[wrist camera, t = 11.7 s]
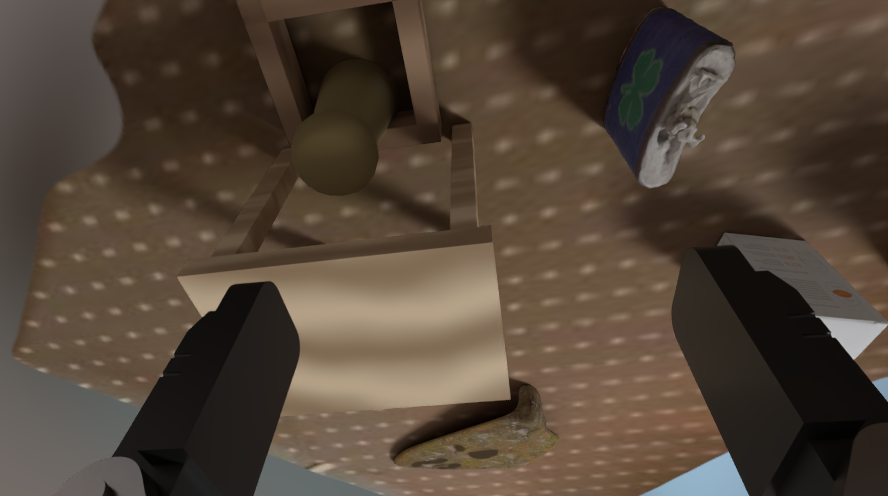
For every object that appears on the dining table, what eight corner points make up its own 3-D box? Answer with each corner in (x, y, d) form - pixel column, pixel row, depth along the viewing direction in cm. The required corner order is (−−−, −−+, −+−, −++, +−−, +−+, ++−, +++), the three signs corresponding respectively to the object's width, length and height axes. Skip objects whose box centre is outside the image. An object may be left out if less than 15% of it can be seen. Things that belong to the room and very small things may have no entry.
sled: (192, -178, 27) (95, -201, 20) (385, -221, 26) (356, -262, 18) (305, 143, 38) (270, 203, 31) (441, 124, 37) (438, 182, 30)
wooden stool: (271, 144, 39) (176, 276, 26) (480, 115, 37) (492, 242, 24) (343, 324, 51) (303, 475, 38) (502, 309, 50) (518, 463, 36)
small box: (696, 276, 46) (748, 363, 38) (723, 229, 43) (787, 313, 35) (775, 285, 47) (844, 373, 38) (808, 239, 43) (892, 324, 35)
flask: (627, 135, 38) (675, 208, 29) (591, 128, 38) (630, 200, 29) (684, 9, 32) (765, 54, 24) (643, 0, 32) (710, 41, 24)
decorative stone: (527, 377, 56) (531, 420, 53) (590, 418, 65) (598, 456, 61) (380, 429, 68) (376, 466, 65) (449, 457, 77) (449, 491, 74)
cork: (372, 43, 34) (343, 98, 25) (413, 116, 37) (400, 188, 29) (303, 81, 36) (254, 145, 27) (348, 148, 39) (317, 225, 30)
